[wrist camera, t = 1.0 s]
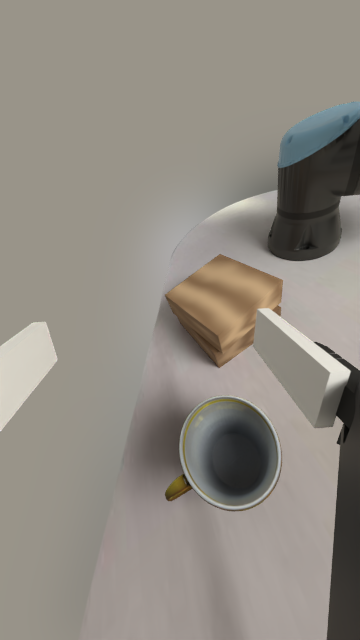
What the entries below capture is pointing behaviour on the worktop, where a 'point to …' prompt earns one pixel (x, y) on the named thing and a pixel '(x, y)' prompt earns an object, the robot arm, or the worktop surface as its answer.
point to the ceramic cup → (228, 454)
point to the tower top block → (224, 300)
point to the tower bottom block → (232, 351)
